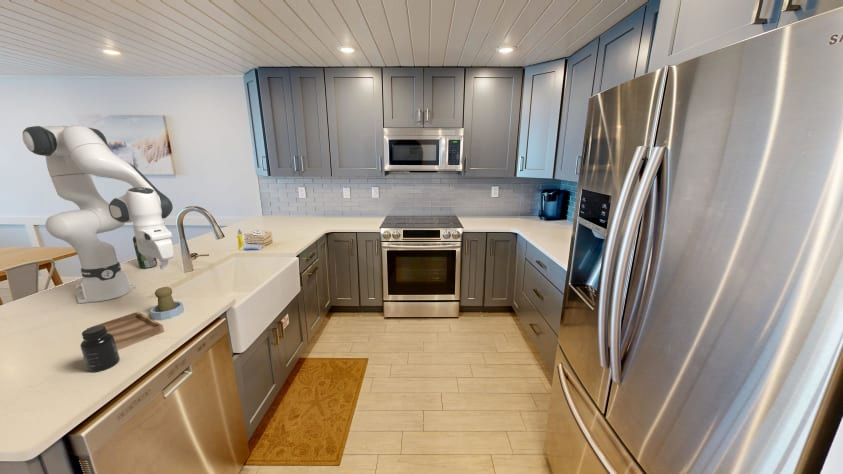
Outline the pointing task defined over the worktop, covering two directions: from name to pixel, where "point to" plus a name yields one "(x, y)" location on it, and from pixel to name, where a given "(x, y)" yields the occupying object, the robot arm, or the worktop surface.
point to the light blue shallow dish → (167, 312)
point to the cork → (165, 299)
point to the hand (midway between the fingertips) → (158, 267)
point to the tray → (132, 329)
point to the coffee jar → (141, 257)
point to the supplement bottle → (99, 349)
